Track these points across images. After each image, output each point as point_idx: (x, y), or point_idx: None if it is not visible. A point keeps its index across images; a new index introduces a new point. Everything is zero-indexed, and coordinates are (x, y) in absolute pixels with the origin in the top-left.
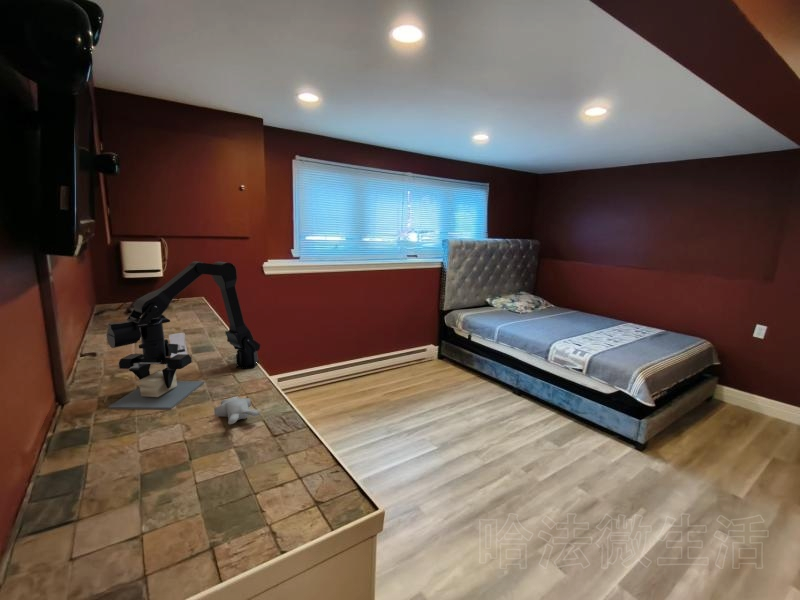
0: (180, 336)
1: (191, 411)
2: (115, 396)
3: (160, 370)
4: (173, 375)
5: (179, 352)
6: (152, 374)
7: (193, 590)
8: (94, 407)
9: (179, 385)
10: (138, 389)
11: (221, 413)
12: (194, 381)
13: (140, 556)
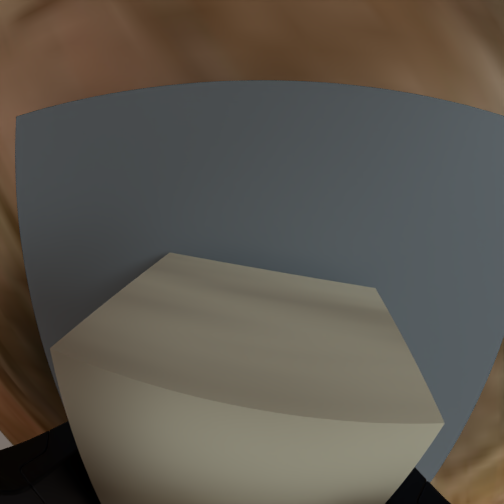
0: None
1: (493, 481)
2: (8, 340)
3: (86, 380)
4: (432, 501)
5: None
6: (114, 490)
7: None
8: (39, 430)
9: (360, 212)
10: (41, 290)
11: None
12: (464, 113)
13: None
